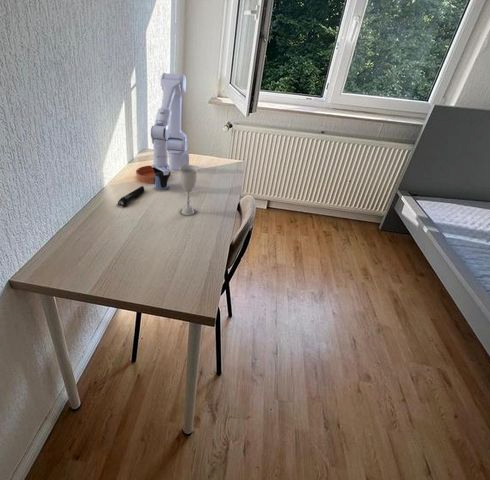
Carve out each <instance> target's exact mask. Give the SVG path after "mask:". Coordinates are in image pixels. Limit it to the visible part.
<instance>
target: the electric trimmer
mask: <svg viewBox="0 0 490 480" xmlns="http://www.w3.org/2000/svg"><path fill="white" fill-rule="evenodd" d="M144 192H145V186H143V185H141V186H139V187H137V188H136V189H134V190H133V191H130V192H129V193H128V194H126V195H124V196H122V197H121V198H120V199H119V200H118V201H117V205H118V207H121V208H124V207H126V206H127V204H129V203H130V202H132V201H133V200H134V199H138V198H139V197H140V196H141V195H142V194H143V193H144Z"/></svg>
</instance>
